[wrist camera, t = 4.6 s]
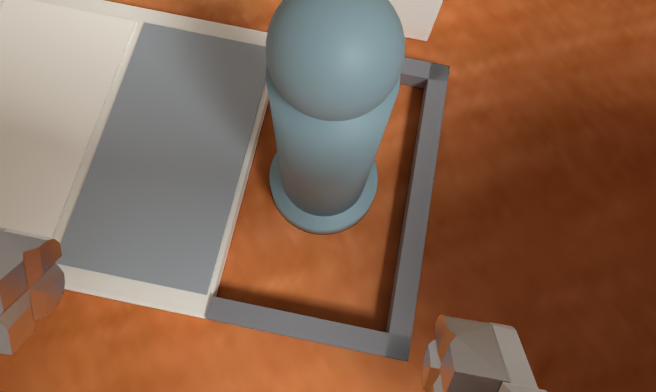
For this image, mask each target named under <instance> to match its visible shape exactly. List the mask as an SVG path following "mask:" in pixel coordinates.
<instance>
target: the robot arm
mask: <svg viewBox="0 0 656 392" xmlns="http://www.w3.org/2000/svg"><path fill="white" fill-rule="evenodd" d="M61 257H62V252H61V246H60V243H59V242H58V241H57V240H55V239H53V238H49V237H44V236H39V235H35V234H30V233H26V232H21V231H16V230H12V229H6V228H1V227H0V353H2V354H8V355H13V354H14V353H15V352H16V351H17V350H18V349H19V348H20V347H21V345H22V344H23V343H24V342H25V341H26V340H27V339H28V338H29V337H30V336H31V335H32V334H33V333H34V331H35V325H34V322H36V321H38V320H41V319H43V318H45V317H48V316H49V315H50V314H51V313H52V312H53V311H54V309H55V308H56V307H57V306H58V304H59V302H60V300H61V297H62V295H63V293H64V287H65V277H64V272H63V271H62V270H61V269H60V267H59V266H58V265H57V264H56V262H57V261H58V260H59V259H60V258H61ZM434 333H435V340H433V341H432V342H430V343H429V344H428V346H427V349H426V352H425V356H424V362H423V368H422V383H423V390H424V391H425V392H547V391H546V390H542V389H538V386H537V383H536V381H535V378H534V375H533V373H532V370H531V368H530V365H529V362H528V360H527V357H526V355H525V352H524V349H523V347H522V344H521V341H520V339H519V336H518V334H517V331H516V329H515V328H514V327H513V326H509V325H503V324H497V323H491V322H488V323H486V322H481V321H476V320H471V319H466V318H460V317H455V316H450V315H444V314H440V316H439V317H438V319H437V321H436V324H435V326H434Z"/></svg>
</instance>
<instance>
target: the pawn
mask: <svg viewBox="0 0 656 392" xmlns="http://www.w3.org/2000/svg"><path fill="white" fill-rule="evenodd" d="M404 60H405V36H404V32H403V27H402V24H401V21H400V18H399V16H398V14H397V13H396V11H395V9H394V7H393V6H392V4H391V3H390V1H389V0H283V1H282V2H281V4H280V5H279V6H278V8H277V9H276V11H275V13H274V15H273V17H272V19H271V22H270V25H269V27H268V32H267V37H266V61H267V65H266V84H267V90H268V96H269V103H270V109H271V115H272V121H273V127H274V133H275V140H276V146H277V152H276V154H275V156H274V158H273V160H272V163H271V167H270V176H269V180H270V187H271V191H272V195H273V200H274V202H275V205H276V207H277V208H278V210H279V212H280V213H281V214H282V216H283V217H284V218H285V219H286V220H287V221H288V222H289V223H291V224H292V225H293V226H295V227H296V228H298V229H300V230H303V231H305V232H308V233H312V234H318V235H328V234H335V233H339V232H342V231H344V230H347V229H349V228H350V227H352V226H354V225H355V224H356V223H358V222H359V221H360V220H361V219H362V218H363V217H364V215H365V214H366V213H367V211H368V209H369V208H370V206H371V203H372V201H373V199H374V196H375V194H376V190H377V185H378V172H377V167H376V163H375V160H374V159H375V156H376V153H377V151H378V148H379V145H380V142H381V139H382V137H383V134H384V131H385V128H386V125H387V123H388V120H389V117H390V114H391V111H392V109H393V106H394V103H395V100H396V97H397V95H398V91H399V87H400V75H401V72H402V68H403V64H404Z"/></svg>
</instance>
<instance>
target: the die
mask: <svg viewBox="0 0 656 392" xmlns="http://www.w3.org/2000/svg"><path fill="white" fill-rule="evenodd" d="M389 1H390V3H391V4H392V6H393V7H394V9H395V11H396V13H397V14H398V16H399V18H400V21H401V24H402V27H403V32H404V36H405V37H407V38H412V39H417V40H422V41H427V40H428V37H429V35H430V32H431V30H432V27H433V25H434V22H435V20H436V17H437V15H438V12H439V9H440V7H441V4H442V2H443V0H389Z"/></svg>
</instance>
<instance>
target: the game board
mask: <svg viewBox="0 0 656 392" xmlns="http://www.w3.org/2000/svg"><path fill="white" fill-rule="evenodd" d="M266 37H267V32H262V31H257V30H252V29H247V28H242V27H237V26H232V25H227V24H222V23H217V22H212V21H206V20H201V19H196V18H191V17H186V16H181V15H176V14H171V13H166V12H161V11H156V10H151V9H146V8H140V7H135V6H130V5H125V4H120V3H115V2H110V1H105V0H0V227H1V228H6V229H12V230H16V231H21V232H26V233H30V234H35V235H39V236H44V237H49V238H53V239H55V240H57V241H58V242H59V243H60V246H61V252H62V257H61V258H60V259H59V260H58V261H57V262H56V264H57V265H58V266H59V267H60V269H61V270H62V271H63V272H64V277H65V287H64V289H66V290H71V291H76V292H80V293H85V294H90V295H95V296H99V297H104V298H109V299H114V300H118V301H123V302H128V303H132V304H137V305H142V306H147V307H151V308H156V309H161V310H166V311H170V312H175V313H180V314H185V315H189V316H194V317H199V318H204V319H208V320H213V321H218V322H223V323H227V324H232V325H237V326H242V327H246V328H251V329H256V330H261V331H265V332H270V333H275V334H280V335H284V336H289V337H294V338H299V339H303V340H308V341H313V342H318V343H322V344H327V345H332V346H337V347H341V348H346V349H351V350H356V351H360V352H365V353H370V354H375V355H379V356H384V357H389V358H394V359H398V360H403V361H408V359H409V352H410V345H411V337H412V330H413V323H414V316H415V309H416V302H417V295H418V288H419V281H420V273H421V266H422V259H423V252H424V245H425V238H426V231H427V224H428V217H429V210H430V202H431V195H432V188H433V181H434V174H435V167H436V160H437V153H438V146H439V138H440V131H441V124H442V117H443V110H444V103H445V96H446V89H447V82H448V75H449V67H450V66H447V65H442V64H436V63H431V62H426V61H421V60H416V59H411V58H406V57H405V60H404V64H403V68H402V72H401V75H400V84H404V85H409V86H414V87H419V88H424V92H423V98H422V105H421V111H420V117H419V124H418V130H417V136H416V143H415V149H414V155H413V162H412V168H411V175H410V181H409V187H408V194H407V200H406V206H405V213H404V219H403V225H402V232H401V238H400V245H399V251H398V257H397V264H396V270H395V276H394V283H393V289H392V295H391V302H390V308H389V314H388V321H387V327H386V332H381V331H377V330H372V329H367V328H362V327H357V326H353V325H348V324H343V323H338V322H334V321H329V320H324V319H319V318H314V317H310V316H305V315H300V314H295V313H291V312H286V311H281V310H276V309H272V308H267V307H262V306H257V305H252V304H248V303H243V302H238V301H233V300H229V299H224V298H219V297H216V296H217V292H218V288H219V284H220V281H221V277H222V273H223V270H224V266H225V262H226V258H227V255H228V251H229V247H230V243H231V240H232V236H233V232H234V229H235V225H236V221H237V217H238V214H239V210H240V206H241V202H242V199H243V195H244V191H245V187H246V184H247V180H248V176H249V173H250V169H251V165H252V161H253V158H254V154H255V150H256V146H257V143H258V139H259V135H260V132H261V128H262V124H263V120H264V117H265V113H266V109H267V105H268V102H269V96H268V90H267V84H266V65H267V61H266Z"/></svg>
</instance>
